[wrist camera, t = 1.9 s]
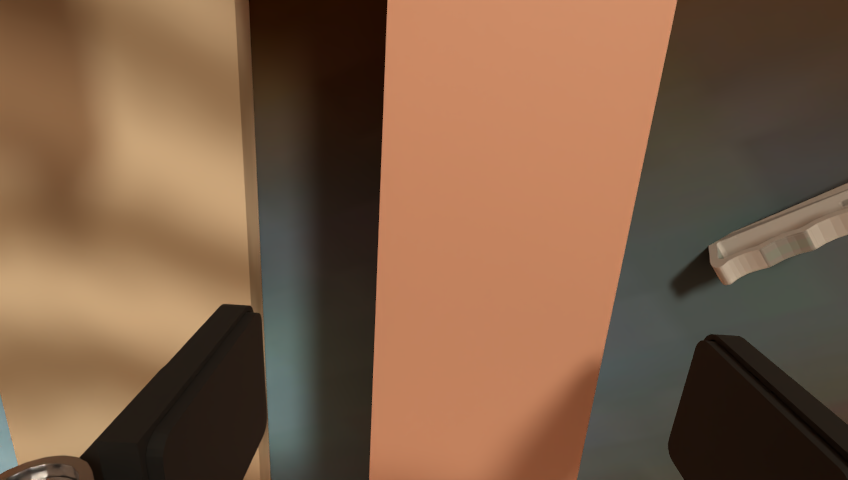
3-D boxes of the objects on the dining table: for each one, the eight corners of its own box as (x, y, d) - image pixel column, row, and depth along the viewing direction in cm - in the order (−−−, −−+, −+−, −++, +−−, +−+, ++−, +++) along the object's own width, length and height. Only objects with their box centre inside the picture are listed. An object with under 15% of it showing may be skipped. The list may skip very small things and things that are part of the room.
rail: (507, 503, 23) (535, 673, 16) (384, 493, 23) (362, 659, 16) (601, -100, 15) (728, -247, 8) (416, -112, 15) (397, -268, 9)
